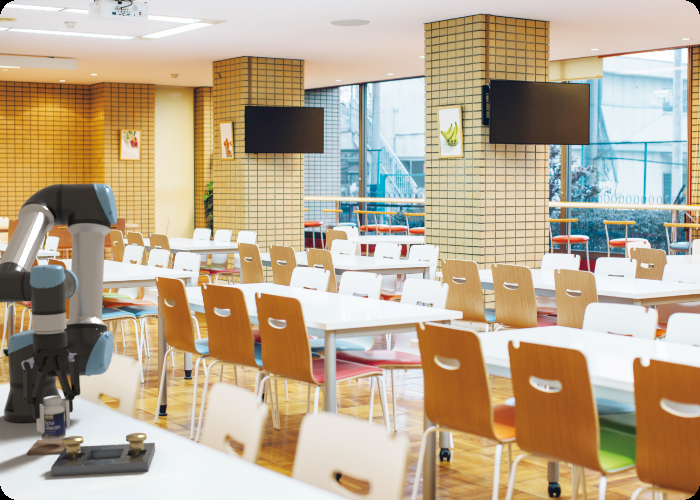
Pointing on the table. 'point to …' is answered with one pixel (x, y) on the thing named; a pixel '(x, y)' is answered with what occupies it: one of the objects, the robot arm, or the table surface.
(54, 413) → the pill bottle
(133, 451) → the plunger
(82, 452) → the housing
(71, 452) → the plunger
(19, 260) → the robot arm
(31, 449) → the coaster
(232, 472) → the table surface
